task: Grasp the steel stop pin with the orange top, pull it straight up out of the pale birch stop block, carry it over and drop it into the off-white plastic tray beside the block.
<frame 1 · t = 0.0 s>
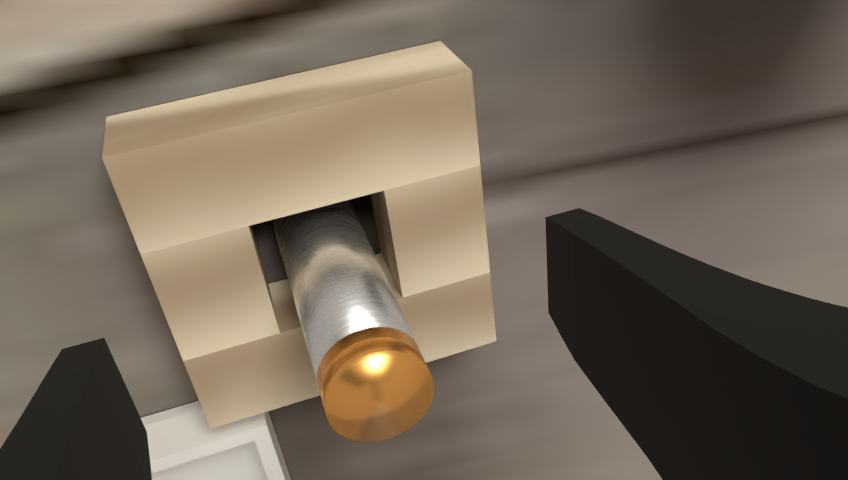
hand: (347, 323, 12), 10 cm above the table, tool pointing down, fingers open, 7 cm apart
stop block: (313, 219, 23), on the table
stop pin: (342, 294, 20), in the stop block
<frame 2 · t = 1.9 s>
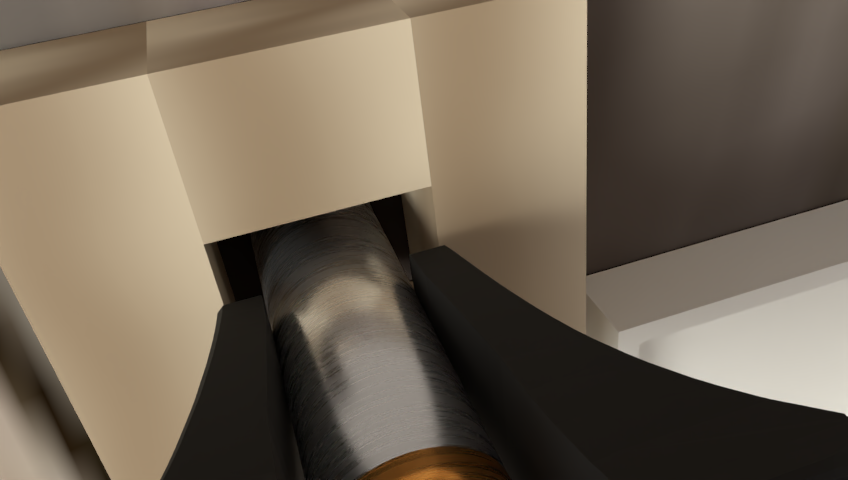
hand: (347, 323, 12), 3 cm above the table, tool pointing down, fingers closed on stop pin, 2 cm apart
stop block: (314, 231, 15), on the table
stop pin: (361, 361, 12), in the stop block, touching gripper
tray: (754, 383, 22), on the table
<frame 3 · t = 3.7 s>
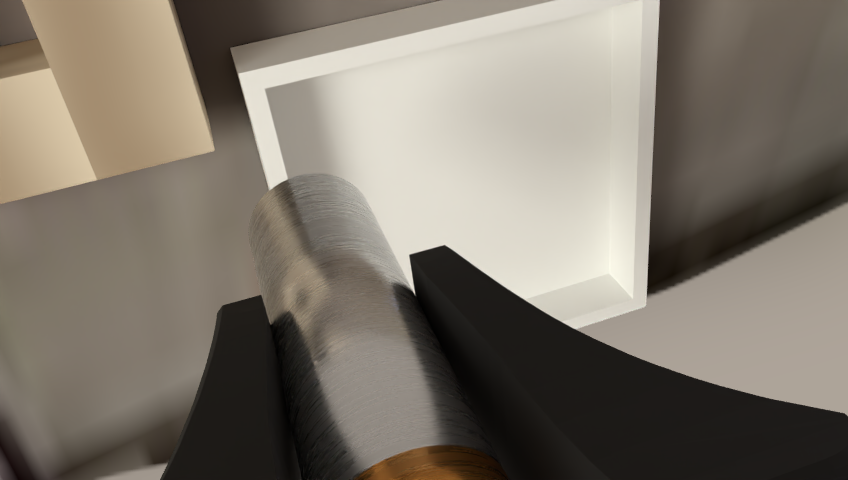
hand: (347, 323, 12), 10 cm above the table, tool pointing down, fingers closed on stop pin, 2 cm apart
stop pin: (359, 360, 12), point 11 cm above the table, touching gripper
tray: (456, 180, 24), on the table
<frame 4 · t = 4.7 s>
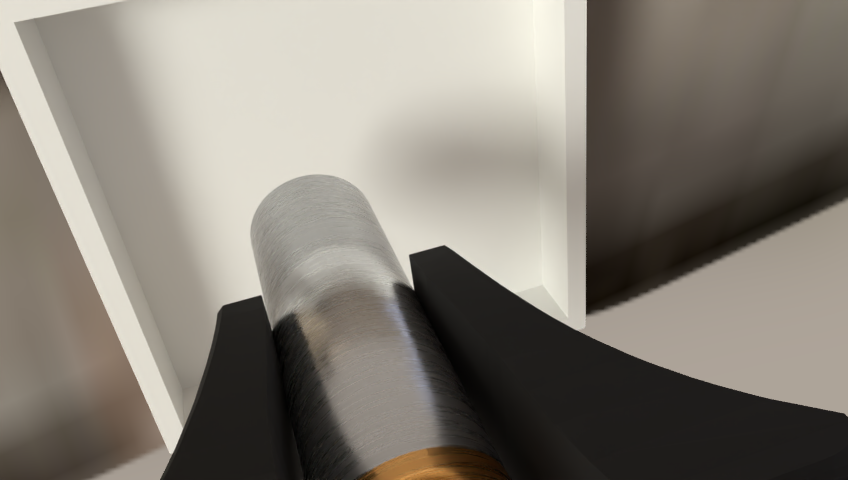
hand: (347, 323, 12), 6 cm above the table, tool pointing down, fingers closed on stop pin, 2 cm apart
stop pin: (361, 361, 12), point 8 cm above the table, touching gripper
tray: (334, 163, 18), on the table
when the fingers open (6 cm above the table, at t = 5.5 s): stop pin drops 2 cm, resting on tray.
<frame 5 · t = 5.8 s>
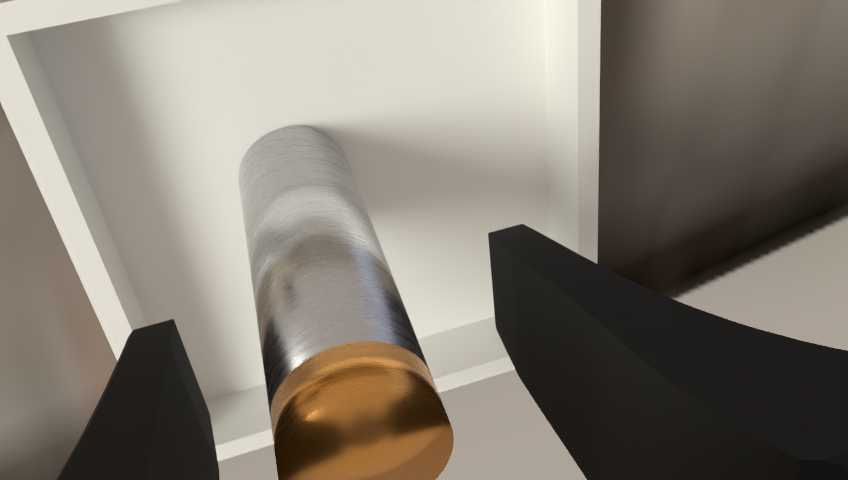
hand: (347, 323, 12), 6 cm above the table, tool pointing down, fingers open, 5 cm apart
stop pin: (322, 284, 14), in the tray
tray: (338, 177, 18), on the table
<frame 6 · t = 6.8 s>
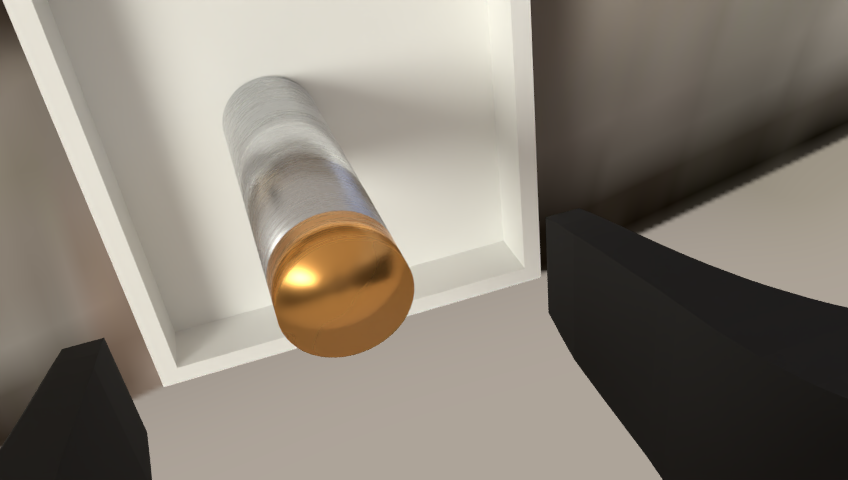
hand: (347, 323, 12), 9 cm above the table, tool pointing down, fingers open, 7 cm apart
stop pin: (301, 193, 16), in the tray
tray: (310, 125, 20), on the table
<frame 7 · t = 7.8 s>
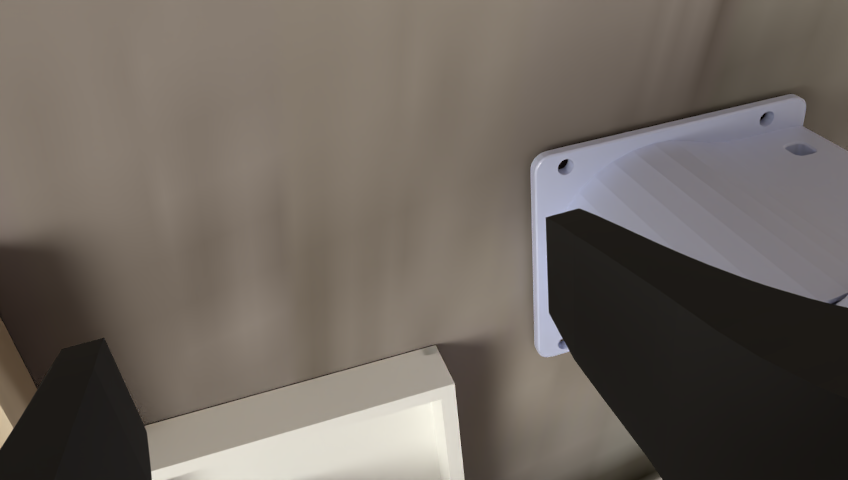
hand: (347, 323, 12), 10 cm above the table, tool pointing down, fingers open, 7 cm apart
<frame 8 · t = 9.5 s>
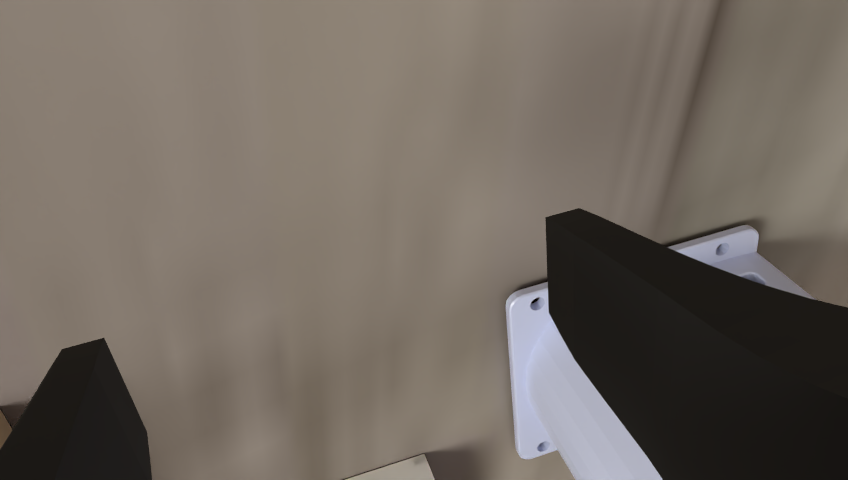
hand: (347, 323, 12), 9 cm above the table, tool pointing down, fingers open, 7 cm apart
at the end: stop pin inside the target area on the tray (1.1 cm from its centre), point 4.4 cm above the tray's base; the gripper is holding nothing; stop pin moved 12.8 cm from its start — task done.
